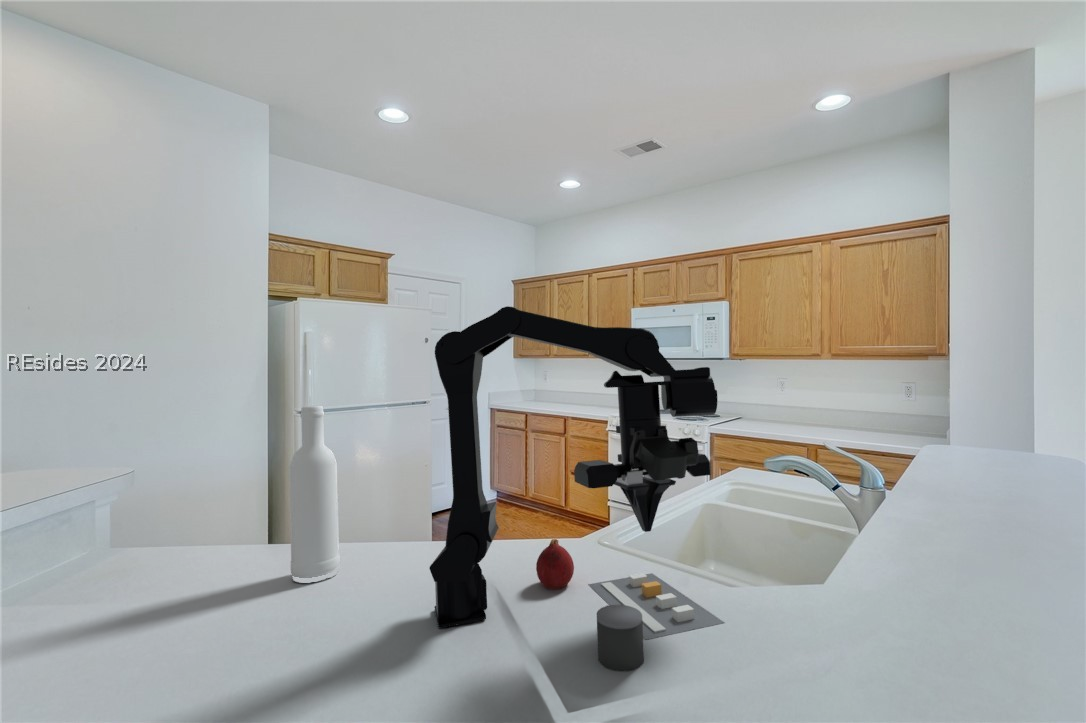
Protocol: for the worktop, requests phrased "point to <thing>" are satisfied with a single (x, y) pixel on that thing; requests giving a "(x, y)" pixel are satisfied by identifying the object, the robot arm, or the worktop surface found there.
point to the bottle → (313, 501)
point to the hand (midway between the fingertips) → (646, 531)
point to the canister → (620, 637)
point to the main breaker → (651, 589)
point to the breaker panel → (656, 605)
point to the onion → (554, 566)
